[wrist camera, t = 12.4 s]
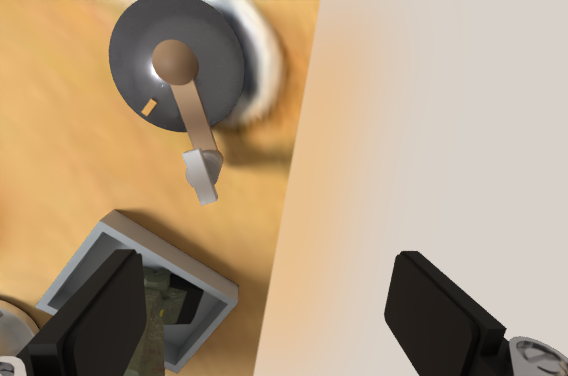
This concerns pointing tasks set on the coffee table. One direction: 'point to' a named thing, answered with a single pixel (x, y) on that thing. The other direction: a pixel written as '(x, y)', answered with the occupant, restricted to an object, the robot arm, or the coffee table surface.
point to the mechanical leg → (162, 318)
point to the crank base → (197, 36)
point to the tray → (155, 255)
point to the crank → (190, 116)
